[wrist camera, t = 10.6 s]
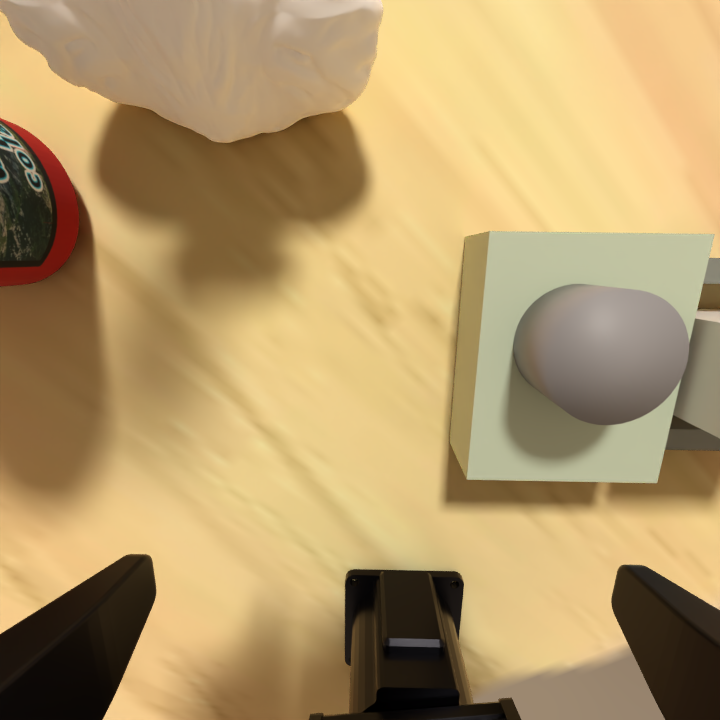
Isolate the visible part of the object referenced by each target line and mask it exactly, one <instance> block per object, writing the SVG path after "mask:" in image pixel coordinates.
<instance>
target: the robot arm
mask: <svg viewBox="0 0 720 720" xmlns="http://www.w3.org/2000/svg"><path fill="white" fill-rule="evenodd" d="M352 579H357V580H355V581H354V580H352ZM452 581H456V582H454V583H452ZM463 588H464V583H463V579H462V576H461V575H460V574H459V573H458V572H454V571H407V570H360V569H354V570H350V571H348V573H347V574H346V581H345V661H346V663H347V664H348V665H349V666H351V672H350V700H349V714H337V715H325V716H324V715H323V713H316V714H310V718H309V720H521V718H520V716H519V714H518V711H517V709H516V707H515V705H514V702H513V700H512V698H502V699H499V702H488V703H473V699H472V695H471V690H470V686H469V682H468V678H467V674H466V670H465V666H464V662H463V658H462V654H461V649H460V645H459V641H458V640H459V629H460V619H461V609H462V599H463ZM155 597H156V583H155V576H154V569H153V562H152V558H151V557H150V556H149V555H146V554H129V555H126V556H124V557H122V558H121V559H119V560H117V561H116V562H114V563H113V564H111V565H109V566H108V567H106V568H105V569H103V570H102V571H100V572H98V573H97V574H95V575H94V576H92V577H90V578H89V579H87V580H86V581H84V582H82V583H81V584H79V585H78V586H76V587H74V588H73V589H71V590H70V591H68V592H67V593H65V594H63V595H62V596H60V597H59V598H57V599H55V600H54V601H52V602H51V603H49V604H47V605H46V606H44V607H43V608H41V609H39V610H38V611H36V612H35V613H33V614H31V615H30V616H28V617H27V618H25V619H24V620H22V621H20V622H19V623H17V624H16V625H14V626H12V627H11V628H9V629H8V630H6V631H4V632H3V633H1V634H0V720H102V719H103V717H104V716H105V714H106V712H107V710H108V708H109V706H110V704H111V702H112V700H113V698H114V696H115V693H116V691H117V689H118V687H119V684H120V682H121V680H122V678H123V675H124V673H125V671H126V668H127V666H128V663H129V661H130V659H131V656H132V654H133V651H134V649H135V647H136V644H137V642H138V640H139V637H140V635H141V632H142V630H143V628H144V625H145V623H146V621H147V618H148V616H149V613H150V611H151V609H152V606H153V604H154V601H155ZM612 609H613V612H614V614H615V617H616V619H617V621H618V623H619V625H620V627H621V629H622V632H623V634H624V636H625V638H626V640H627V642H628V644H629V646H630V648H631V651H632V653H633V655H634V657H635V659H636V661H637V663H638V665H639V667H640V670H641V672H642V674H643V676H644V678H645V680H646V682H647V684H648V686H649V689H650V691H651V693H652V695H653V697H654V699H655V701H656V703H657V705H658V707H659V709H660V710H661V712H662V714H663V716H664V718H665V720H720V610H718V609H717V608H715V607H713V606H712V605H710V604H708V603H706V602H705V601H703V600H701V599H700V598H698V597H696V596H695V595H693V594H691V593H690V592H688V591H686V590H685V589H683V588H681V587H680V586H678V585H676V584H675V583H673V582H671V581H670V580H668V579H666V578H665V577H663V576H661V575H660V574H658V573H656V572H655V571H653V570H651V569H649V568H648V567H646V566H642V565H622V566H620V567H619V569H618V571H617V575H616V580H615V585H614V589H613V594H612Z"/></svg>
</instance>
